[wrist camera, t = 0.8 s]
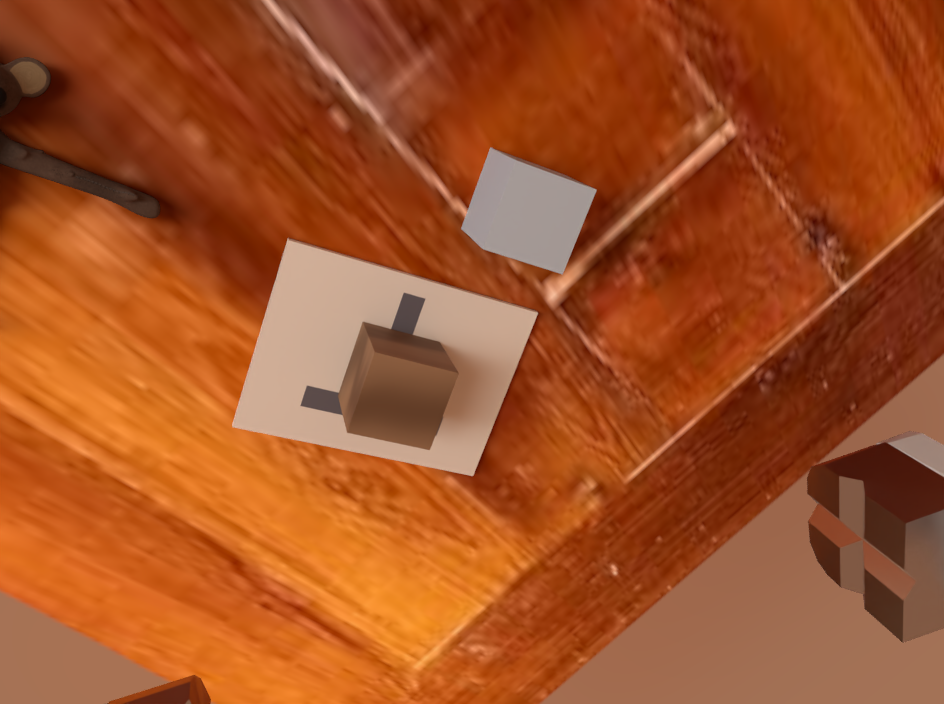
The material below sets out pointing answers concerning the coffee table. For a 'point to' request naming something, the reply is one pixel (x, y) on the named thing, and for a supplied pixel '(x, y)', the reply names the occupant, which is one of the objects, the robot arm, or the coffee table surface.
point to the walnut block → (396, 387)
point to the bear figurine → (3, 94)
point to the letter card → (333, 339)
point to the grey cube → (527, 211)
